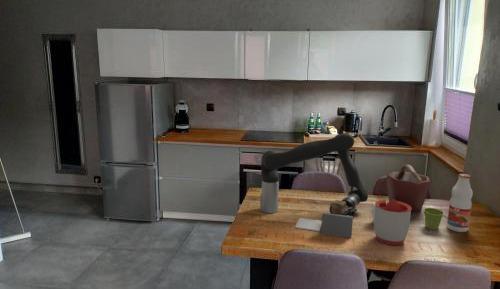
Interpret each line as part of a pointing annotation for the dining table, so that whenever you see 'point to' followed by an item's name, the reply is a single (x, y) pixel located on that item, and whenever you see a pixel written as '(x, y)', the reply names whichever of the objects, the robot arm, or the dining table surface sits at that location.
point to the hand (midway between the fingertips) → (336, 214)
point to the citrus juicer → (391, 221)
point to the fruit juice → (460, 205)
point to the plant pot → (433, 218)
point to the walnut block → (338, 207)
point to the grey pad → (309, 224)
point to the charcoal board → (337, 225)
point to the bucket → (408, 187)
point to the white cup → (374, 210)
